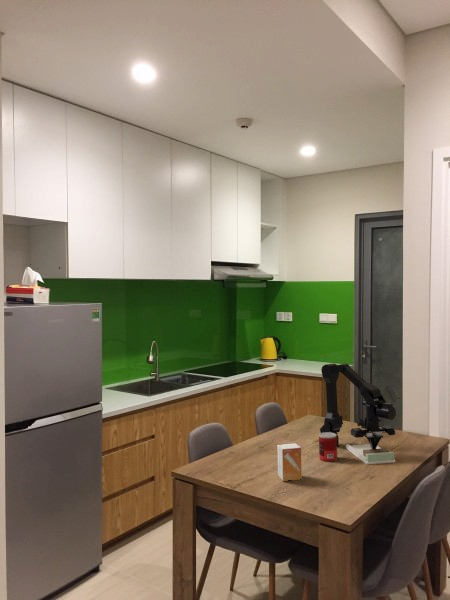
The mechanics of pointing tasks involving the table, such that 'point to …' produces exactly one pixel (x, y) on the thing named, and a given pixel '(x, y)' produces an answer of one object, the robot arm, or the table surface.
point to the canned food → (327, 446)
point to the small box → (289, 462)
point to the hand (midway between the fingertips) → (373, 450)
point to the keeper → (374, 451)
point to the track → (360, 452)
